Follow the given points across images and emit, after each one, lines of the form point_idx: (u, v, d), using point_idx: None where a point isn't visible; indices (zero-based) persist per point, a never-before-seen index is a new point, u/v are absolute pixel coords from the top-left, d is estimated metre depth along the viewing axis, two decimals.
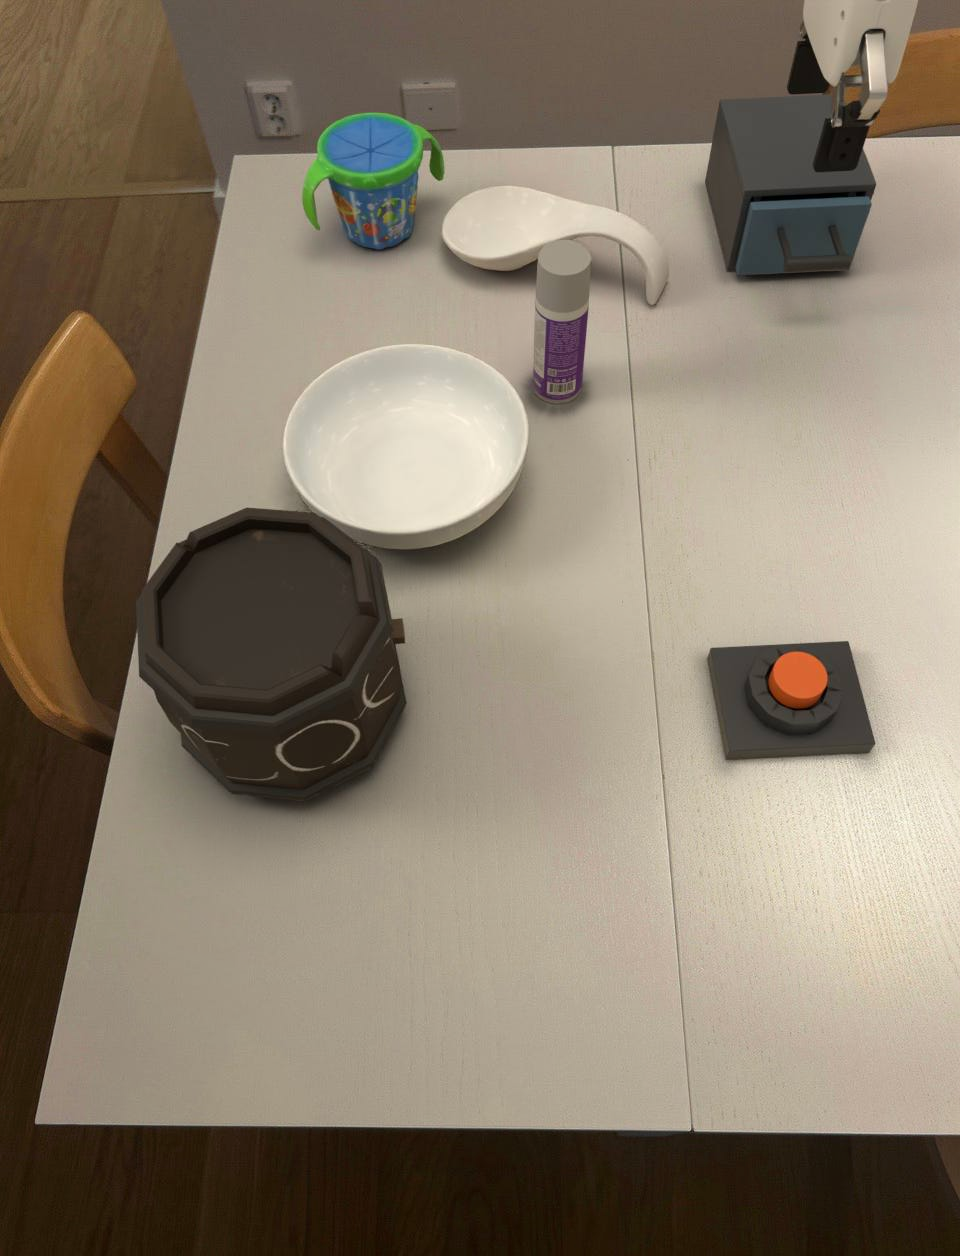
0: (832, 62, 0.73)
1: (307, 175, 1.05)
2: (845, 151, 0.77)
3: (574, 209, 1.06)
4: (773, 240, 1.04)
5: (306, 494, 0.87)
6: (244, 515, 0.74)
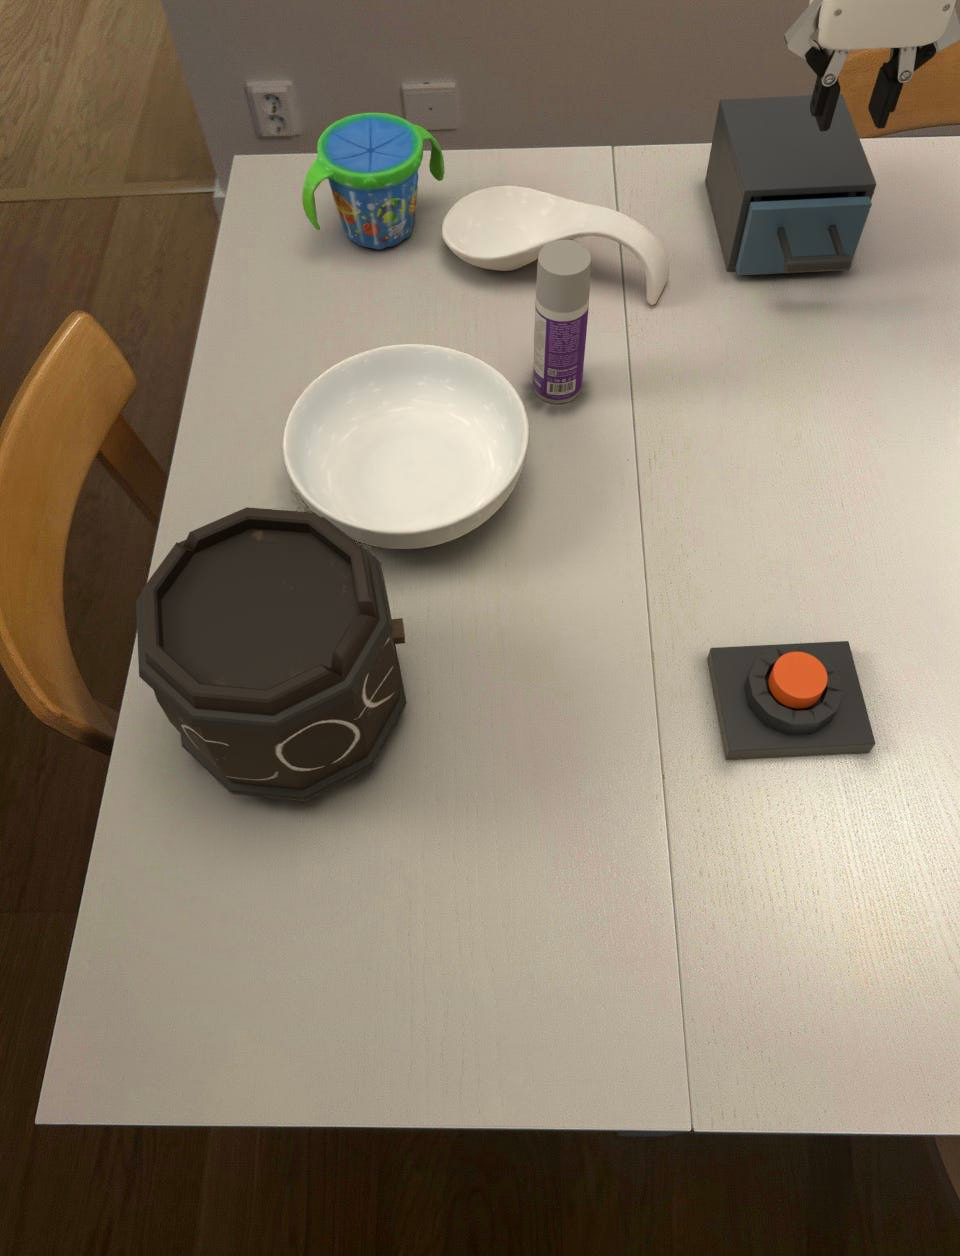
0: (943, 23, 0.82)
1: (307, 175, 1.05)
2: None
3: (574, 209, 1.06)
4: (773, 240, 1.04)
5: (306, 494, 0.87)
6: (244, 515, 0.74)
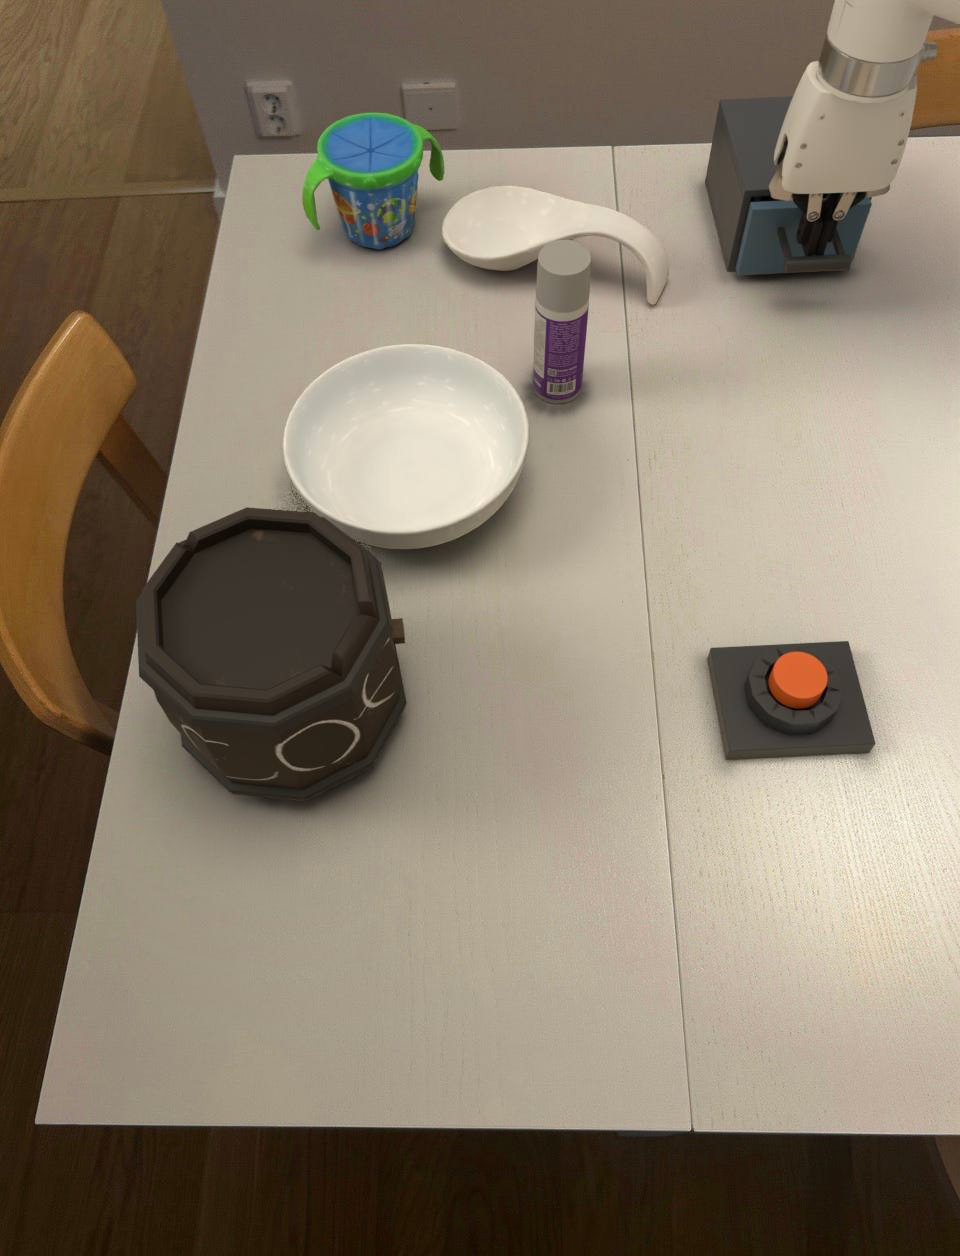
0: (892, 173, 0.92)
1: (307, 175, 1.05)
2: None
3: (574, 209, 1.06)
4: (773, 240, 1.04)
5: (306, 494, 0.87)
6: (244, 515, 0.74)
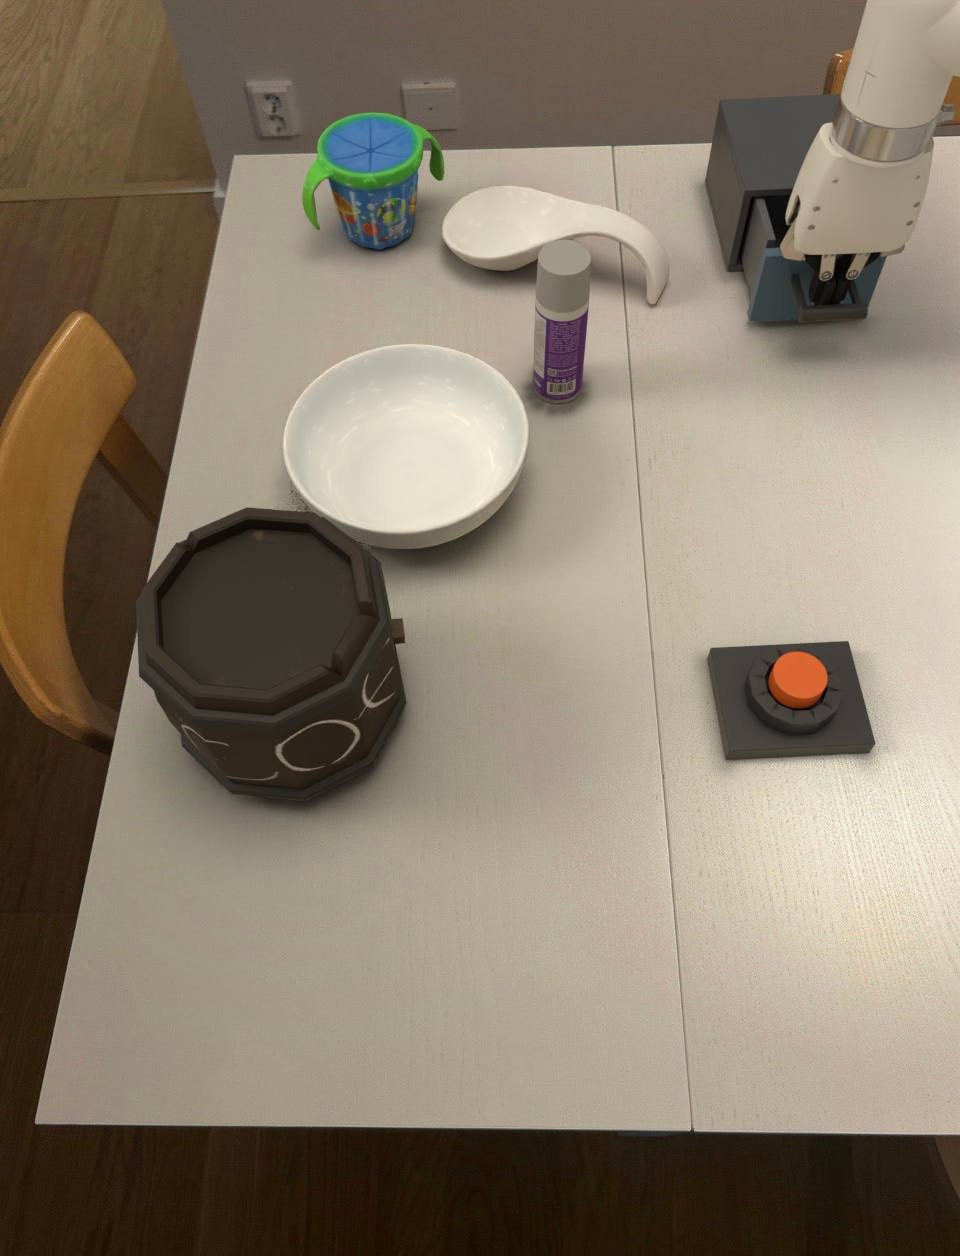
0: (907, 234, 0.90)
1: (307, 175, 1.05)
2: None
3: (574, 209, 1.06)
4: (786, 287, 1.00)
5: (306, 494, 0.87)
6: (244, 515, 0.74)
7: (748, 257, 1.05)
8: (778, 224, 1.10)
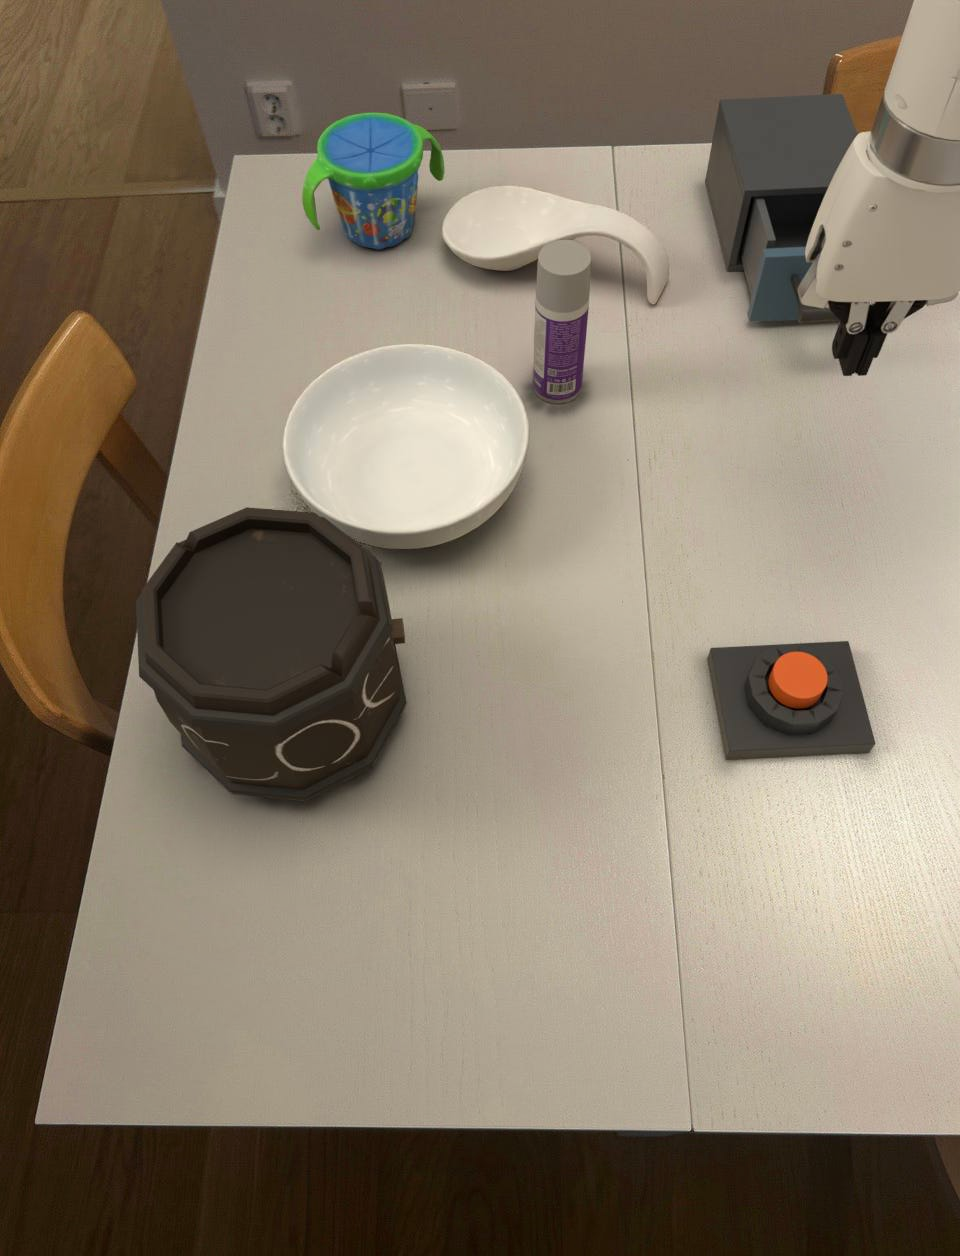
0: None
1: (307, 175, 1.05)
2: None
3: (574, 208, 1.06)
4: (786, 287, 1.00)
5: (306, 494, 0.87)
6: (244, 515, 0.74)
7: (748, 257, 1.05)
8: (778, 224, 1.09)
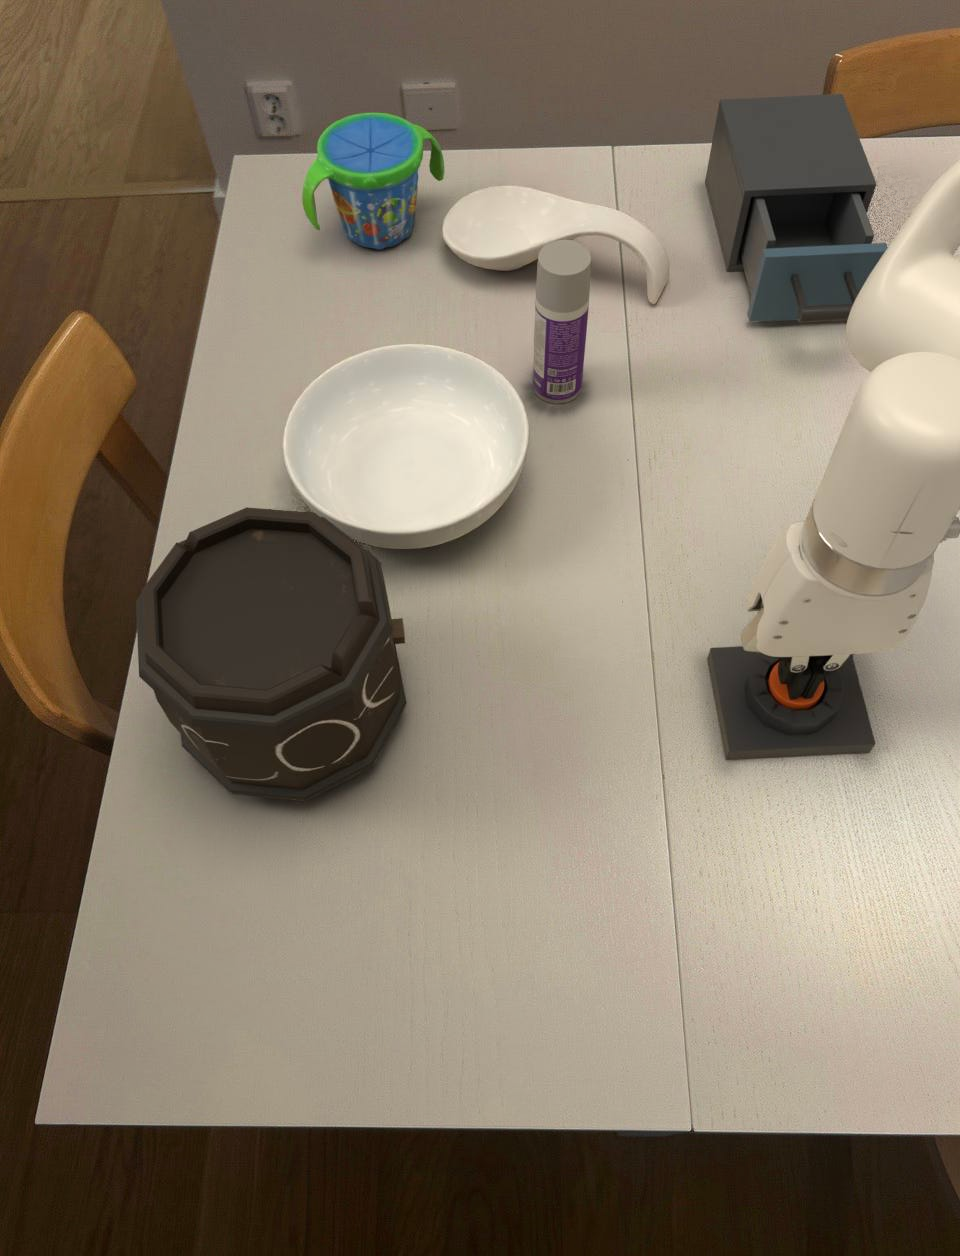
0: (899, 639, 0.71)
1: (307, 175, 1.05)
2: None
3: (574, 208, 1.06)
4: (786, 287, 1.00)
5: (306, 494, 0.87)
6: (244, 515, 0.74)
7: (748, 257, 1.05)
8: (778, 224, 1.09)
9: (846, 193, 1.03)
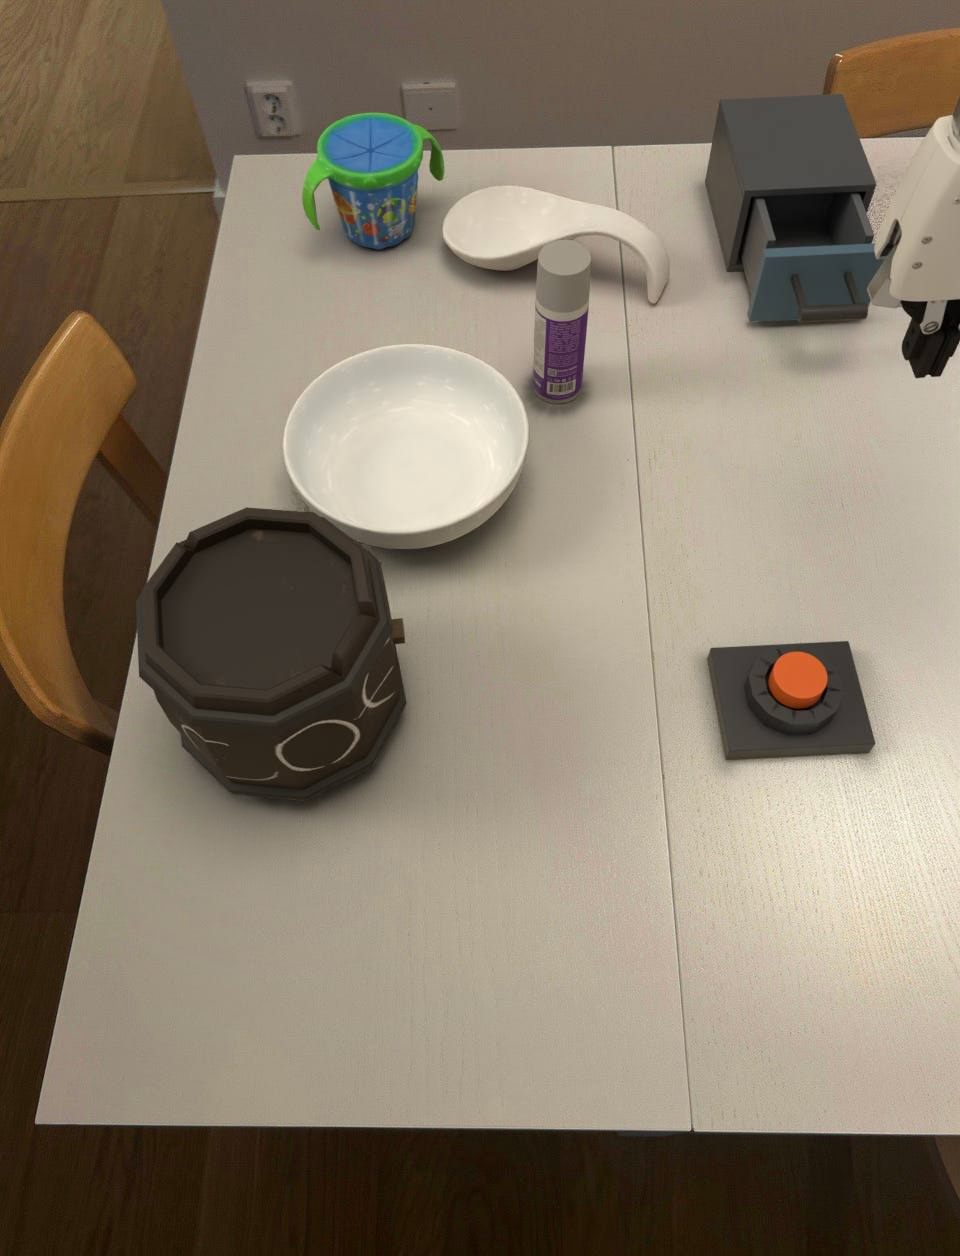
0: None
1: (307, 175, 1.05)
2: None
3: (575, 208, 1.06)
4: (786, 287, 1.00)
5: (306, 494, 0.87)
6: (244, 515, 0.74)
7: (748, 257, 1.05)
8: (778, 224, 1.09)
9: (846, 193, 1.03)
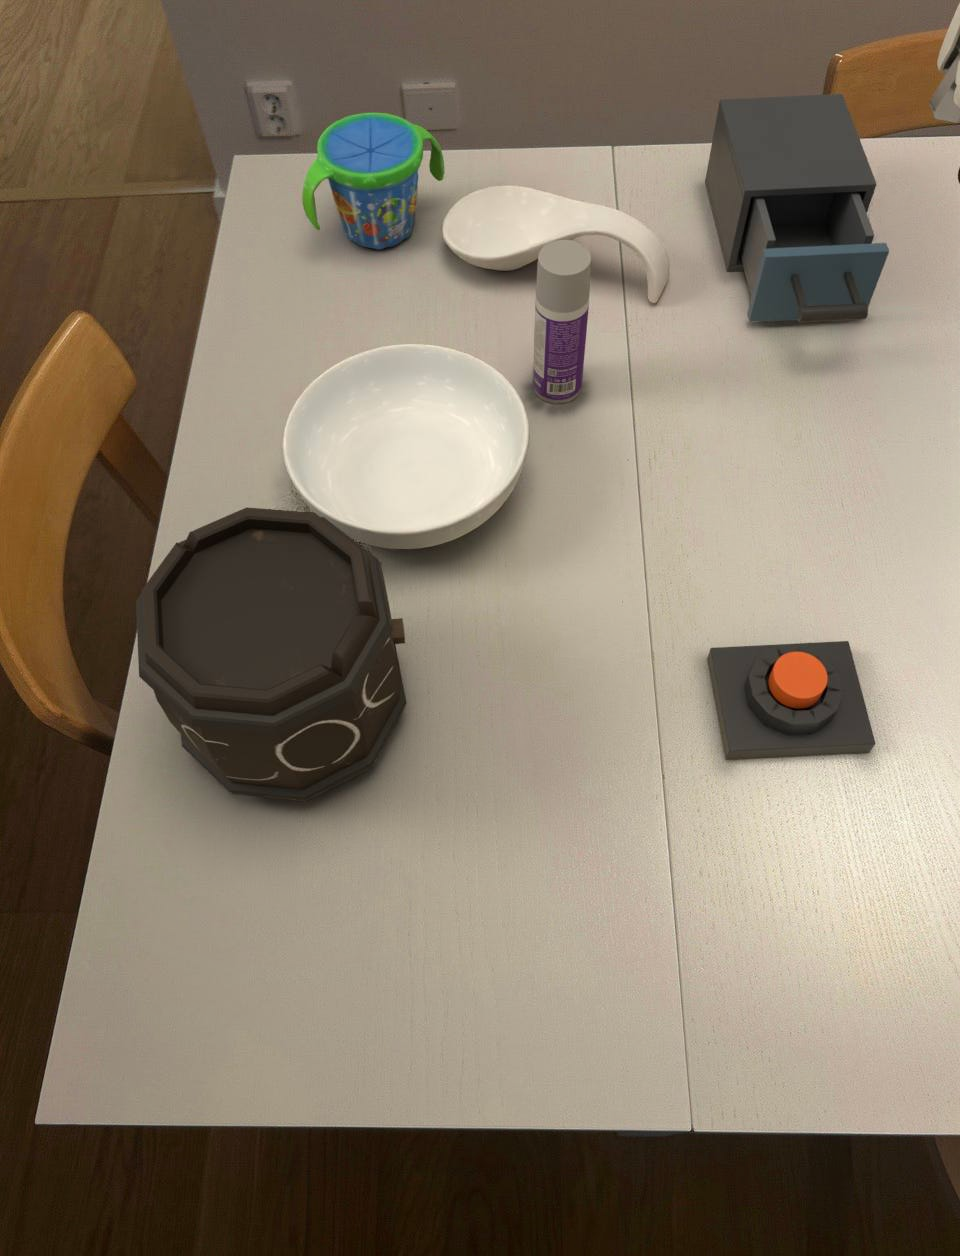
0: None
1: (307, 175, 1.05)
2: None
3: (575, 208, 1.06)
4: (786, 287, 1.00)
5: (306, 494, 0.87)
6: (244, 515, 0.74)
7: (748, 257, 1.05)
8: (778, 224, 1.09)
9: (846, 193, 1.03)
